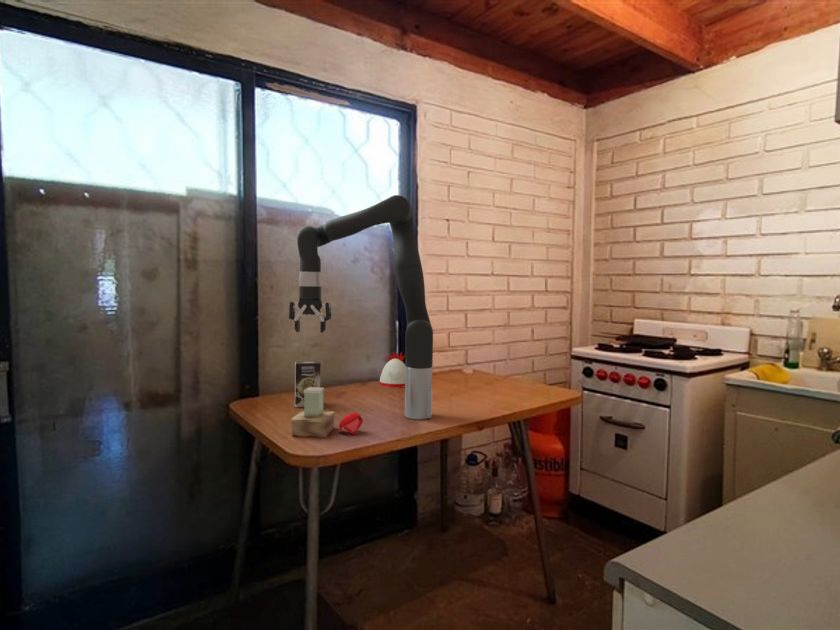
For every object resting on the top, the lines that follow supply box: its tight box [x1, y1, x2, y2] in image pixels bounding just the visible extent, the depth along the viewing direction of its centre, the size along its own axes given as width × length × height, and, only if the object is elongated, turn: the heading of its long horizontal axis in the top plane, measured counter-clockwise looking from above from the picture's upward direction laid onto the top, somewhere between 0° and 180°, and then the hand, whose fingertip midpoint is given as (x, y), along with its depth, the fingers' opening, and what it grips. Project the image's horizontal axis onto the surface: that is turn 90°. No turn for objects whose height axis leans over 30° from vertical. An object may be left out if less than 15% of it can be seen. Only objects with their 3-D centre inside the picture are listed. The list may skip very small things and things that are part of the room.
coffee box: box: [294, 360, 322, 408], centre depth 183 cm, size 9×6×16 cm
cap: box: [338, 412, 364, 436], centre depth 150 cm, size 8×6×6 cm
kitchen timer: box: [379, 351, 406, 388], centre depth 223 cm, size 14×14×15 cm
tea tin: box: [303, 386, 325, 418], centre depth 150 cm, size 5×5×8 cm
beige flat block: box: [290, 410, 336, 438], centre depth 150 cm, size 11×11×5 cm
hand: (310, 332), depth 171 cm, fingers open, 8 cm apart
